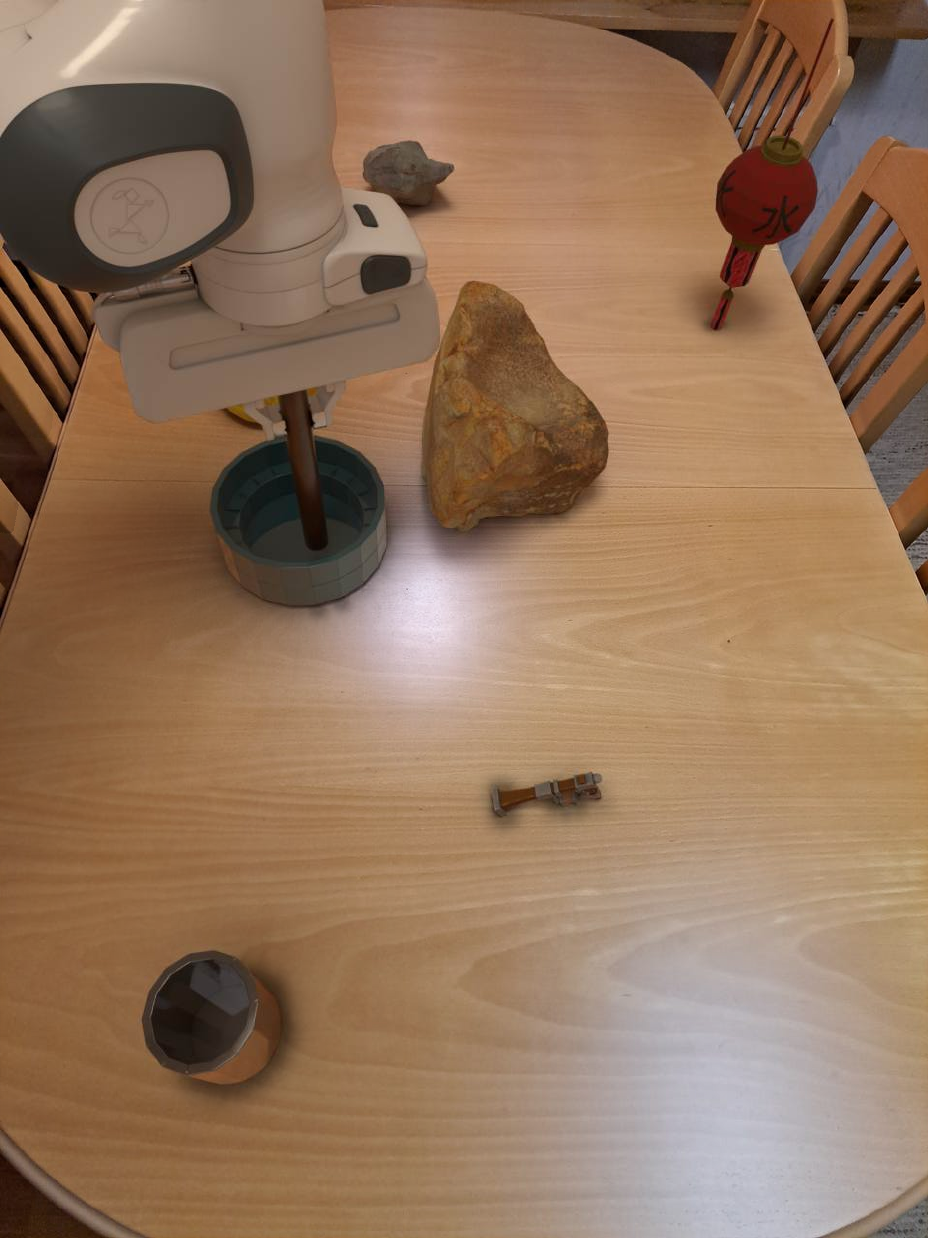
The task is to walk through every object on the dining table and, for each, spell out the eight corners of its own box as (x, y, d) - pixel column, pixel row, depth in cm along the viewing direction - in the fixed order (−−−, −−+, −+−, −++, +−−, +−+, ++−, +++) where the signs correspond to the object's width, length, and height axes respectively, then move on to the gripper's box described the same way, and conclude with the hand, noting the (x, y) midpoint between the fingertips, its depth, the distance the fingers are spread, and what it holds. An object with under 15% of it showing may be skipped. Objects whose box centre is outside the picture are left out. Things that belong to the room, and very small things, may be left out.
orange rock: (591, 593, 73) (647, 476, 61) (405, 568, 72) (423, 443, 59) (585, 412, 86) (629, 285, 74) (427, 387, 85) (445, 254, 72)
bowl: (246, 629, 68) (233, 588, 63) (208, 503, 75) (193, 457, 70) (408, 582, 72) (408, 539, 67) (358, 465, 78) (354, 419, 73)
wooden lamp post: (614, 804, 61) (601, 785, 57) (512, 825, 63) (493, 809, 59) (610, 780, 62) (596, 761, 58) (509, 803, 64) (490, 785, 60)
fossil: (456, 186, 104) (460, 120, 97) (449, 229, 99) (452, 162, 92) (368, 176, 104) (365, 109, 97) (356, 219, 99) (353, 151, 92)
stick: (308, 553, 70) (279, 392, 54) (302, 535, 71) (271, 372, 55) (331, 547, 70) (308, 385, 55) (324, 529, 71) (300, 365, 56)
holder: (197, 1102, 51) (154, 1095, 42) (176, 999, 53) (132, 974, 45) (293, 1061, 52) (270, 1047, 44) (268, 964, 55) (242, 933, 46)
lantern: (680, 353, 89) (788, 43, 64) (668, 297, 94) (763, -11, 69) (766, 356, 90) (906, 50, 64) (749, 300, 95) (873, -5, 69)
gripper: (90, 324, 43) (159, 496, 55) (453, 252, 48) (445, 424, 60) (72, 253, 46) (141, 430, 58) (416, 191, 51) (415, 367, 63)
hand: (298, 427), depth 59 cm, fingers closed on stick, 2 cm apart
